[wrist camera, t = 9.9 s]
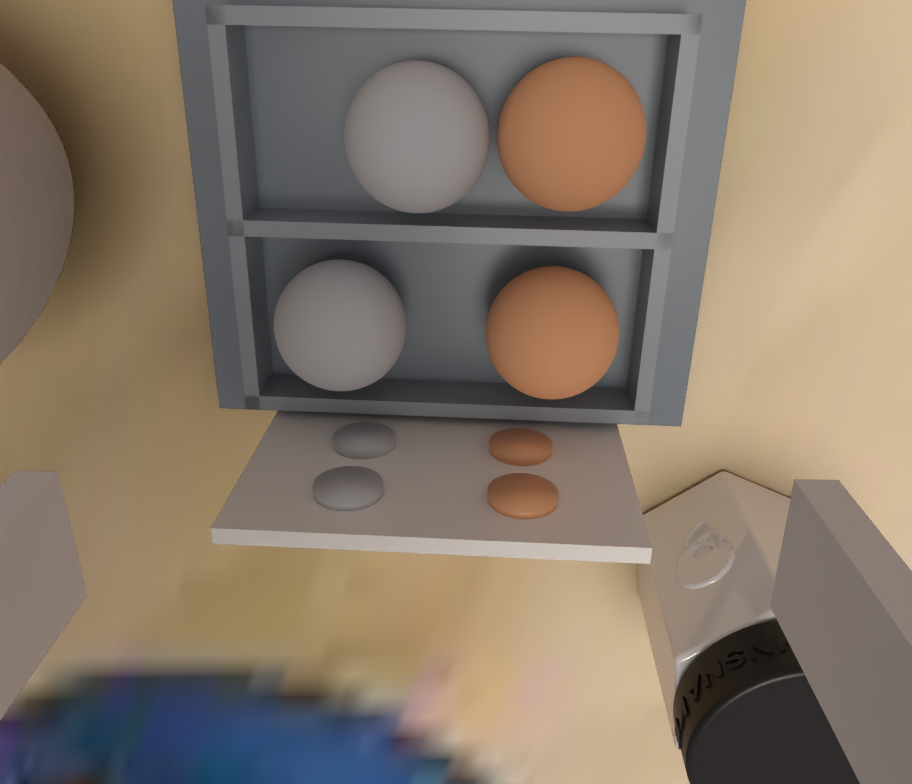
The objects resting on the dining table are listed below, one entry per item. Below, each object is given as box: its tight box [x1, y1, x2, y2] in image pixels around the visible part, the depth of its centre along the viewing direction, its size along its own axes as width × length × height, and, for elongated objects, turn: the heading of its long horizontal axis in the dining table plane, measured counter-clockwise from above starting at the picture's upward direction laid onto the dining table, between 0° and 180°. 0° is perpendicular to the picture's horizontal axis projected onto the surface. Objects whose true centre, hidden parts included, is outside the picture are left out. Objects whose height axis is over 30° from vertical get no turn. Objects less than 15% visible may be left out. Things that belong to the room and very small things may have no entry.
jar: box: [638, 471, 860, 784], centre depth 33 cm, size 9×8×12 cm
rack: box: [173, 0, 746, 564], centre depth 27 cm, size 20×17×11 cm
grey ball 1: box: [274, 259, 407, 391], centre depth 31 cm, size 5×5×5 cm
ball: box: [497, 57, 646, 212], centre depth 27 cm, size 5×5×5 cm
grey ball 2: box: [344, 60, 490, 213], centre depth 28 cm, size 5×5×5 cm
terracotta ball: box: [485, 266, 619, 399], centre depth 30 cm, size 5×5×5 cm
